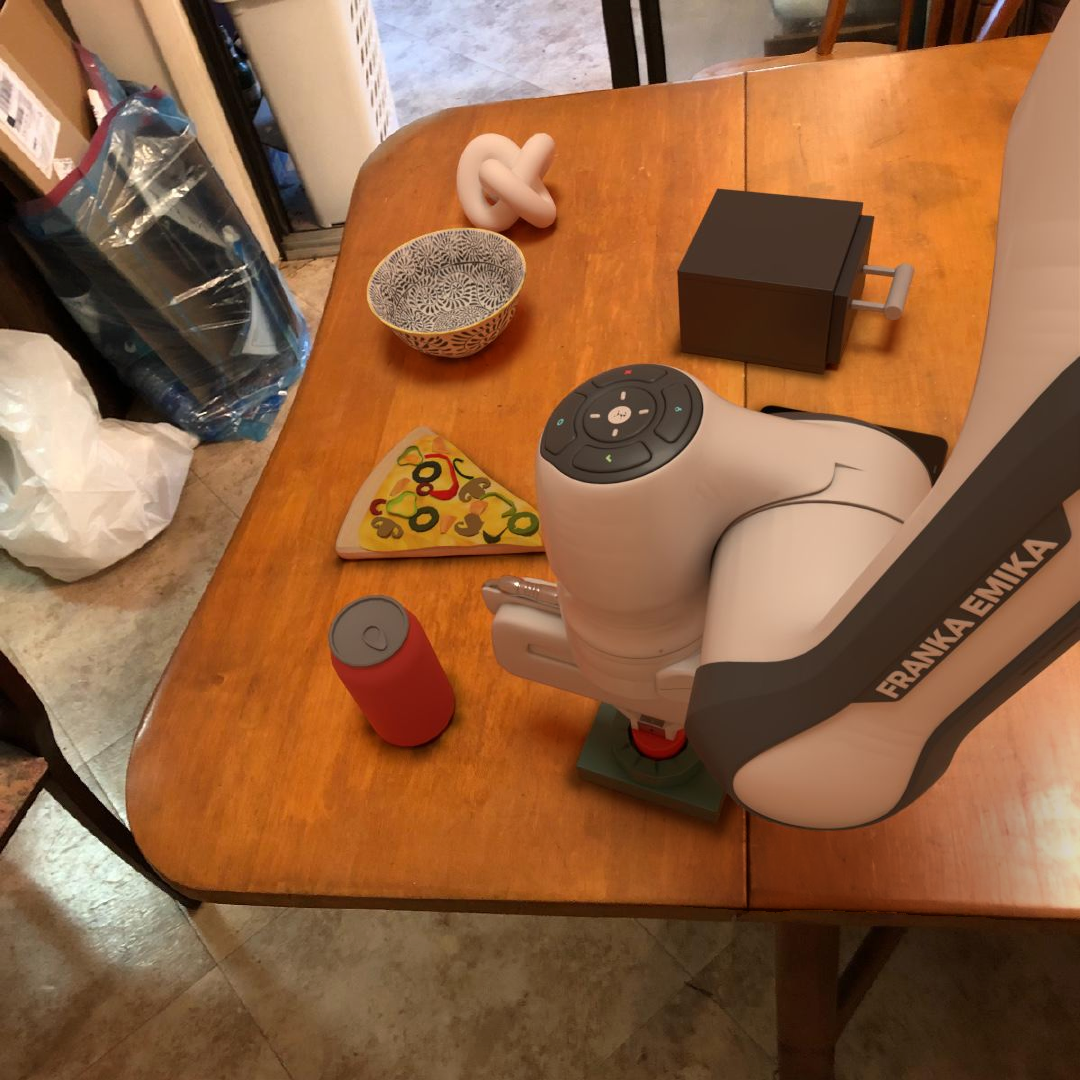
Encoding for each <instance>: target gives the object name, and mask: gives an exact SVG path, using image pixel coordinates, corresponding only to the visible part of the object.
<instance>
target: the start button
mask: <svg viewBox="0 0 1080 1080" xmlns="http://www.w3.org/2000/svg"><path fill="white" fill-rule="evenodd" d="M632 733H633V739H634V743H635V746H636V748H637V749H638V751H639V752H640V753H641V754H642V755H644V756H645V757H647V758H649V759H652V760H657V761H662V760H667V759H671V758H673V757H675V756H676V755H678V754H679V753H680V752H681V750H682V749H683V747H684V745H685V742H686V735H685V732H684V728H683V729H680V730H678V731H677V733H676V736H675V739H674V740H673V741H672V740H669V739H666V738H663V737H660V736H657V735H654V734H650V733H646V732H643V731H639V730H637V729H633V728H632Z"/></svg>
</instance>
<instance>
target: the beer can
mask: <svg viewBox="0 0 1080 1080" xmlns="http://www.w3.org/2000/svg"><path fill="white" fill-rule="evenodd" d="M428 637H429V636H428V635H427V633H426V631H425V629H424V627H423V625H422V624H421V622H420V621H419V619H418V617H417V616H416V615H415V614H414V613H413V612H411V611H410V610H409V609H408V608H406V607H405V606H404V605H403V604H402V603H400V602H399V601H398V600H397V599H396V598H394V597H391V596H387V595H385V594H369V595H366V596H362V597H358V598H356V599H355V600H353V601H351V602H349V603H347V604H346V605H345V606H344V607H343V608H342V609H341V610H340V611H338V612H337V613H336V615H335V617H334V618H333V620H332V621H331V623H330V626H329V630H328V633H327V639H328V640H327V641H328V647H329V650H330V651H329V652H330V660H331V665H332V667H333V669H334V671H335V673H336V675H337V676H338V678H339V679H340V681H341V682H342V684H343V685H344V687H345V688H346V690H347V691H348V693H349V694H350V696H351V697H352V699H353V700H354V702H355V703H356V704H357V706H358V708H359V709H360V711H361V712H362V714H363V715H364V716H365V718H366V720H367V721H368V723H369V724H370V725H371V727H372V728H373V730H374V731H375V733H376V734H377V736H379V737H380V738H382V740H384V741H385V742H386V743H389V744H391V745H395V746H398V747H415V746H419V745H422V744H425V743H428V742H429V741H431V740H433V739H435V738H436V737H438V736H439V734H440V733H442V731H443V730H444V729H445V728H446V727H447V726H448V724H449V722H450V720H451V719H452V716H453V714H454V710H455V704H456V703H455V702H456V699H455V694H454V689H453V687H452V684H451V682H450V680H449V678H448V676H447V675H446V672H445V670H444V668H443V666H442V664H441V662H440V660H439V657H438V656H437V654H436V652H435V650H434V648H433V645H432V644H431V641H430V639H429V638H428Z"/></svg>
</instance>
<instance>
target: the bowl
mask: <svg viewBox="0 0 1080 1080" xmlns="http://www.w3.org/2000/svg"><path fill="white" fill-rule="evenodd" d="M523 253H524V252H522V250H521V248H519V246H518V245H517V244H516V243H515V242H514V241H512V240H511V239H509V238H508V237H506V236H505V235H503V234H500V233H499V232H497V233H495V232H492V231H488V230H484V229H478V228H477V227H454V228H447V229H440V230H436V231H431V232H428V233H426V234H422V235H420V236H417V237H415V238H413V239H410V240H408V241H407V242H404V243H403V244H401V245H400V246H398V247H396V248H395V249H394V250H392V251H391V252H389V253H388V254H387V255H386V256H385V257H384V258H383V259H382V260H380V262H379V263H378V264H377V266H376V267H375V268H374V270H373V271H372V273H371V275H370V276H369V279H368V282H367V286H366V300H367V305H368V307H369V309H370V311H371V313H372V314H373V315H374V316H375V317H376V318H377V319H378V320H379V321H380V322H381V323H383V324H384V325H386V326H387V327H388V328H389V329H390V330H391V331H392V332H393V334H395V335H396V336H397V338H399V339H400V340H401V341H402V342H403V343H405V344H406V345H408V346H409V347H410V348H412V349H415V350H416V351H419V352H421V353H424V354H427V355H431V356H437V357H444V358H453V359H457V358H463V357H464V358H465V357H468V356H471V355H474V354H476V353H478V352H480V351H481V350H483V349H484V348H485V347H486V346H488V345H489V344H490V343H492V342H493V341H494V340H496V339H497V338H498V337H500V335H501V334H502V333H503V332H504V331H505V329H506V328H507V327H508V325H509V324H510V323H511V321H512V319H513V317H514V315H515V312H516V310H517V307H518V303H519V300H520V295H521V291H522V289H523V286H524V284H525V281H526V278H527V269H528V268H527V262H526V258H525V255H524V254H523Z"/></svg>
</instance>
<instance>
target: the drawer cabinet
mask: <svg viewBox="0 0 1080 1080" xmlns="http://www.w3.org/2000/svg"><path fill="white" fill-rule="evenodd" d="M863 209H864V202H863V201H853V200H845V199H843V200H842V199H833V198H832V199H831V198H822V197H811V196H802V195H801V196H800V195H791V194H781V193H780V194H779V193H771V192H759V191H747V190H739V189H738V190H737V189H727V188H717V189H716V190H715V192H714V195H713V197H712V199H711V201H710V203H709V205H708V206H707V208H706V210H705V213H704V215H703V217H702V219H701V220H700V223H699V225H698V227H697V229H696V231H695V234H694V235H693V237H692V240H691V241H690V243H689V246H688V247H687V250H686V252H685V254H684V256H683V258H682V260H681V262H680V264H679V265H678V269H677V271H676V273H677V275H676V276H677V297H678V299H677V300H678V317H679V319H678V321H679V340H680V341H679V342H680V352H682V353H688V354H694V355H701V356H707V357H713V358H720V359H726V360H733V361H739V362H745V363H750V364H757V365H763V366H770V367H776V368H782V369H783V368H784V369H789V370H796V371H801V372H808V373H813V374H814V373H815V374H821V375H823V374H824V373H825V370H826V367H827V365H828V363H826V356H827V347H828V339H829V330H830V322H831V313H832V304H833V296H834V292H835V289H836V286H837V284H838V281H839V278H840V275H841V272H842V269H843V266H844V263H845V260H846V257H847V255H848V252H849V249H850V246H851V243H852V240H853V237H854V234H855V231H856V228H857V226H858V223H859V220H860V217H861V215H863Z"/></svg>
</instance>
